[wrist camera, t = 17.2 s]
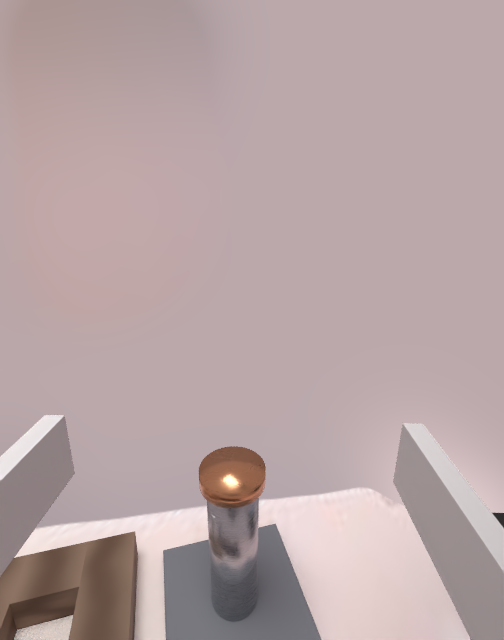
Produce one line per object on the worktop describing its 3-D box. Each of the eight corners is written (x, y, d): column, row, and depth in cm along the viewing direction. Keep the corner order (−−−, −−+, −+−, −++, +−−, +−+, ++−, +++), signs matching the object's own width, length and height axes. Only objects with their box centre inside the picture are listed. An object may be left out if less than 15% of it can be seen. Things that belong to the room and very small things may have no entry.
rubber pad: (275, 528, 44) (275, 523, 44) (325, 658, 31) (326, 653, 31) (163, 555, 40) (163, 550, 40) (168, 715, 28) (168, 709, 27)
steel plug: (254, 560, 39) (254, 442, 34) (271, 617, 34) (274, 484, 29) (201, 575, 37) (194, 453, 33) (211, 637, 32) (204, 500, 27)
